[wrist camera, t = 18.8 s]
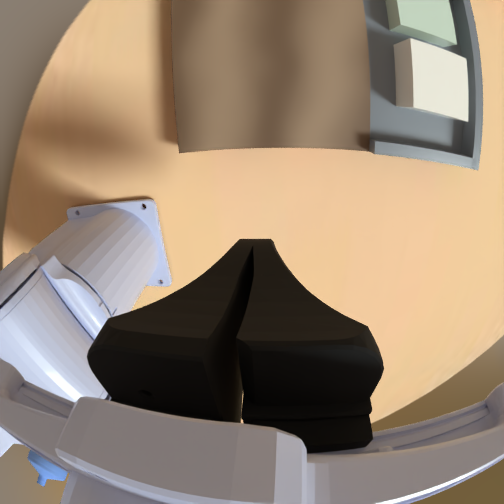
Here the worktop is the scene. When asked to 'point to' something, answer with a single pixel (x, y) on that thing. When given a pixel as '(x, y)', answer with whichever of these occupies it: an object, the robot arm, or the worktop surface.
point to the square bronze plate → (270, 74)
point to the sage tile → (423, 20)
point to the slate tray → (416, 122)
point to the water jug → (46, 469)
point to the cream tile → (431, 80)
